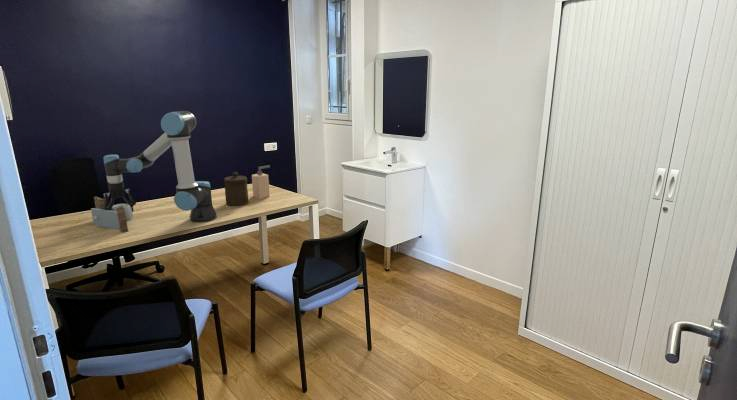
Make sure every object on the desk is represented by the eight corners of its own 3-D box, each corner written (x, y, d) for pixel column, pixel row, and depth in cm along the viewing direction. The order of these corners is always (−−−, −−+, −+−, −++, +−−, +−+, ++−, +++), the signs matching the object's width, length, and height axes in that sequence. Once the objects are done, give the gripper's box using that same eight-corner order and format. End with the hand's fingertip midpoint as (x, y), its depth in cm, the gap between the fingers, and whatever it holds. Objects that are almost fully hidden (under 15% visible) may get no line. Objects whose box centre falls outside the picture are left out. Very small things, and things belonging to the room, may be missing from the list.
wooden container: (248, 199, 286) (245, 169, 280) (249, 205, 272) (246, 173, 266) (226, 201, 281) (223, 170, 275) (226, 207, 268) (223, 175, 262)
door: (124, 229, 225) (121, 212, 222) (119, 231, 222) (116, 213, 219) (96, 224, 232) (93, 207, 229) (91, 226, 229) (88, 209, 226)
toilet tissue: (106, 220, 235) (103, 206, 233) (132, 216, 241) (129, 202, 239) (104, 224, 228) (102, 210, 225) (131, 221, 234) (129, 206, 231)
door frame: (128, 231, 223) (124, 207, 219) (122, 233, 221) (118, 208, 217) (102, 218, 244) (98, 196, 240) (96, 219, 242) (92, 197, 238)
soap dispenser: (259, 198, 289) (257, 168, 283) (253, 196, 295) (250, 166, 289) (274, 195, 298) (272, 166, 292) (267, 193, 304) (266, 164, 298)
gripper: (133, 177, 240) (139, 213, 246) (91, 184, 223) (98, 222, 229) (138, 179, 235) (144, 215, 242) (96, 186, 219) (103, 225, 225)
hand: (122, 219), depth 235 cm, fingers closed on toilet tissue, 9 cm apart
